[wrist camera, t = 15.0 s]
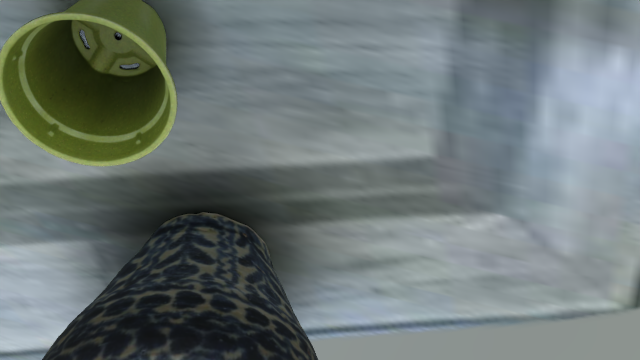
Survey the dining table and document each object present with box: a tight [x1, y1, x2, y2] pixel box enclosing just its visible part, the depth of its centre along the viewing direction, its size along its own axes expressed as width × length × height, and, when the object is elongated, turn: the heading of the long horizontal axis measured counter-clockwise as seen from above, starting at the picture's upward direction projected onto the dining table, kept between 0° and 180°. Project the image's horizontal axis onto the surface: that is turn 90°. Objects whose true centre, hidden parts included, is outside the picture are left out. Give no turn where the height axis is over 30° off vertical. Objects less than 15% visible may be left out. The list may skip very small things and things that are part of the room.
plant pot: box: [0, 0, 177, 166], centre depth 35 cm, size 9×9×9 cm
